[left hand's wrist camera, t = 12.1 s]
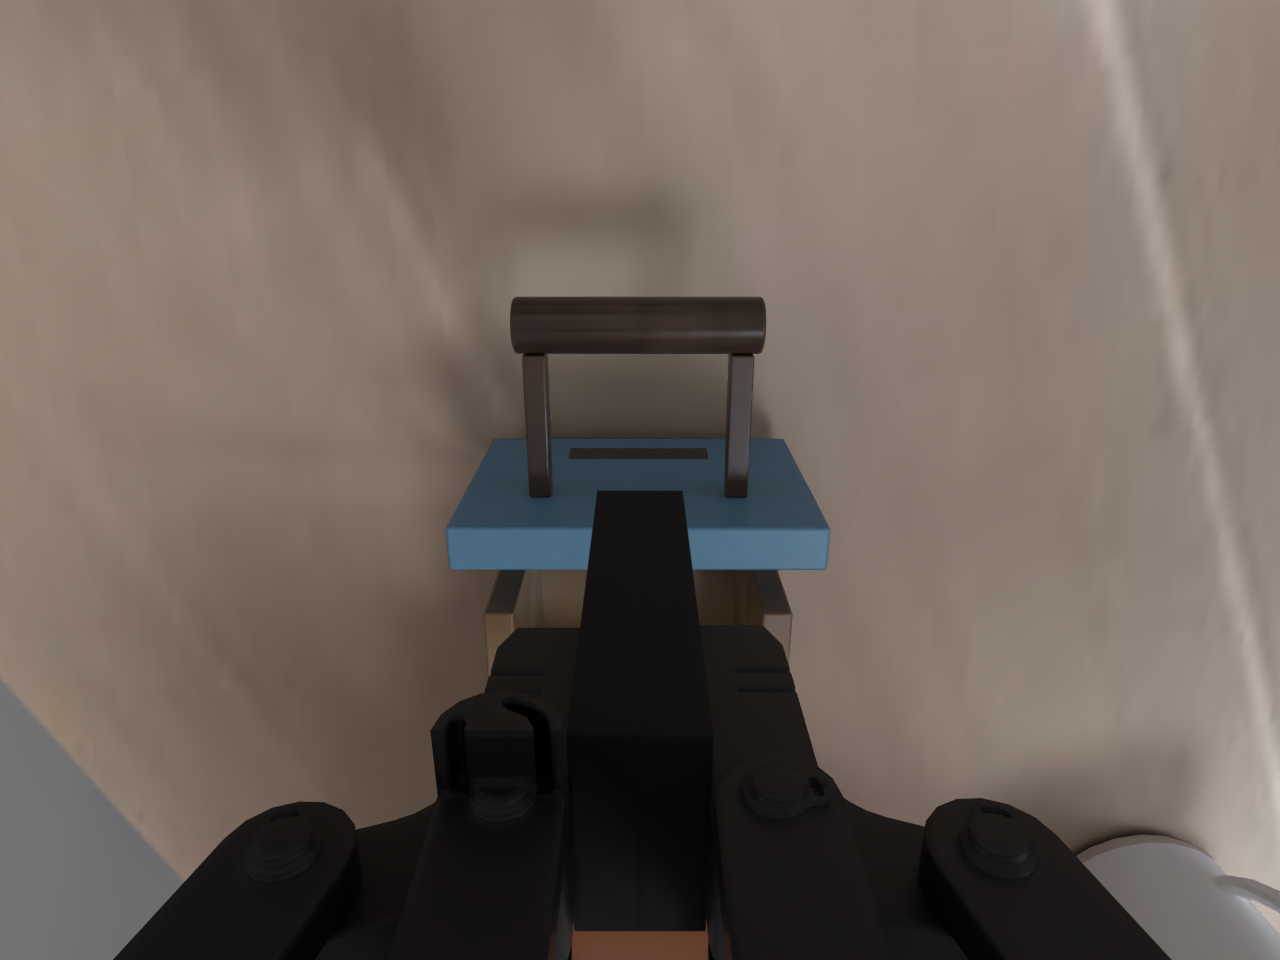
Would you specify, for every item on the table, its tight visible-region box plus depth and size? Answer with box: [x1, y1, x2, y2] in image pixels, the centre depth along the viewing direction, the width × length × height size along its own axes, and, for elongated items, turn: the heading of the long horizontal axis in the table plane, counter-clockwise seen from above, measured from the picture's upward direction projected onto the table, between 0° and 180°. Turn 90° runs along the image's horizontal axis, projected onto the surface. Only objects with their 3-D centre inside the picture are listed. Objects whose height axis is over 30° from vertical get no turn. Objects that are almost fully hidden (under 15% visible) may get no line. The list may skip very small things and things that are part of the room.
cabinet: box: [572, 920, 708, 960], centre depth 30 cm, size 15×11×9 cm
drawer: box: [446, 297, 830, 677], centre depth 26 cm, size 19×10×7 cm, turn 0°
